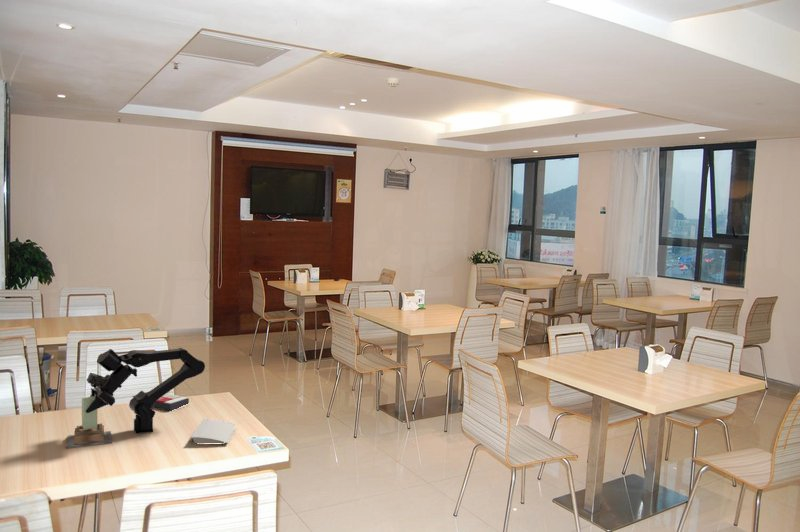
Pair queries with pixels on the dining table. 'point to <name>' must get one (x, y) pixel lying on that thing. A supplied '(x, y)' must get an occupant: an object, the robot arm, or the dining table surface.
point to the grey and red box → (170, 402)
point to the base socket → (88, 437)
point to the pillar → (88, 414)
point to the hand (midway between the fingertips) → (85, 410)
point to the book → (213, 431)
